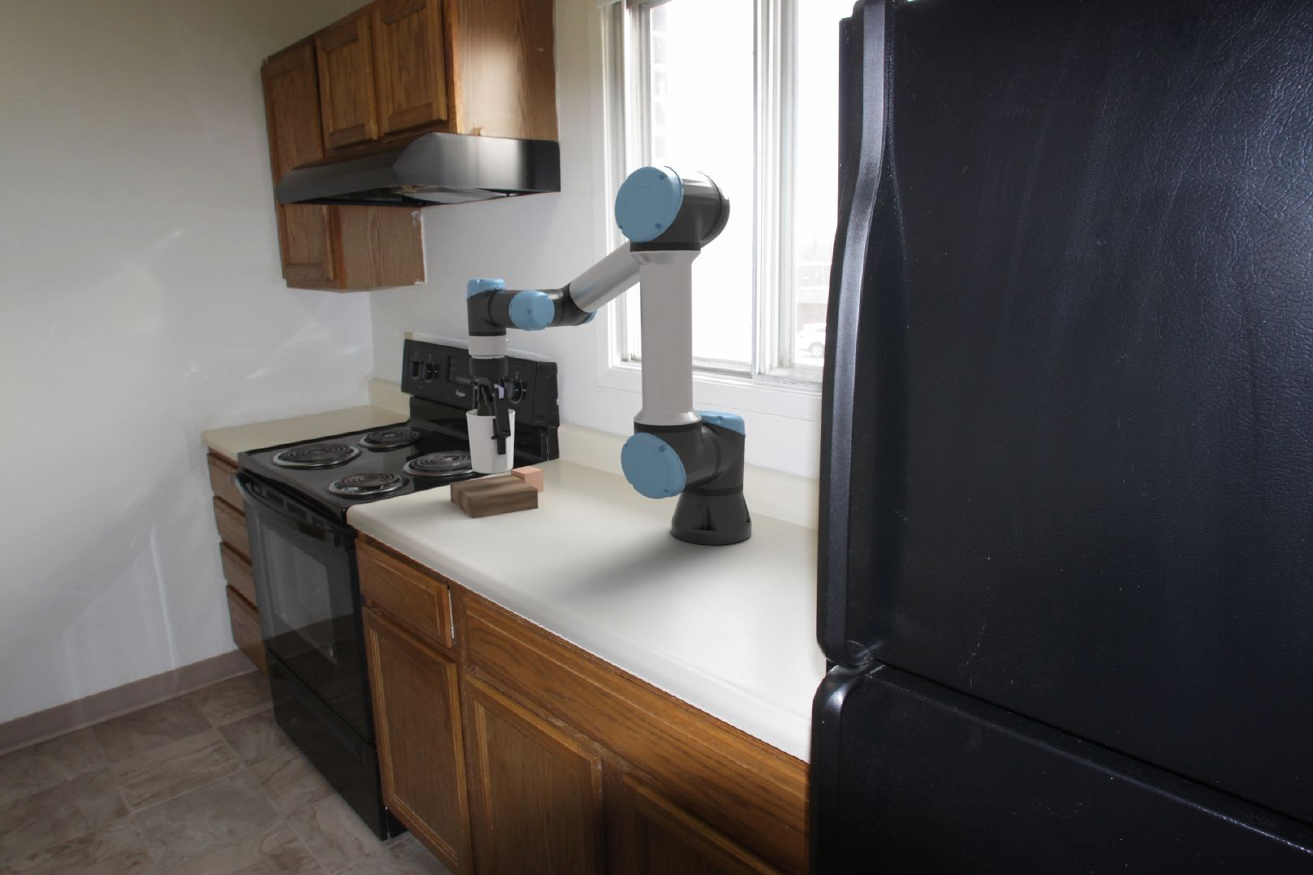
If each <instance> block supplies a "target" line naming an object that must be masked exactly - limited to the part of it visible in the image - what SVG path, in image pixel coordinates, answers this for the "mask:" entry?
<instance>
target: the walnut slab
mask: <svg viewBox="0 0 1313 875" xmlns="http://www.w3.org/2000/svg"><path fill="white" fill-rule="evenodd" d="M449 490H450V493H449V494H450V501H451V503H453V504H454V505H455V506H457V507H458V508H459V509H460V510H461V511H463V512H464V513H465V514H467V515H468V516H469V517H470V518H471V519H475V518H477V519H478V518H481V517H482V518H483V517H489V516H490V517H491V516H496V515H502V514H508V513H514V512H520V511H527V510H528V511H529V510H532V509H534V510H535V509H538V508H539V493H538V489H536V488H535V487H533V486H531V485H530V484H528V483H526V482H524V481H523V480H521V479H519V478H518V477H516V476H514V475H513V474H512V475H511V474H506V475H499V476H498V475H497V476H491V477H490V476H489V477H483V478H478V479H469V480H468V479H467V480H462V481H461V480H459V481H454V482H449Z"/></svg>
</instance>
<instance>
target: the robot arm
mask: <svg viewBox="0 0 1313 875" xmlns="http://www.w3.org/2000/svg"><path fill="white" fill-rule="evenodd" d="M730 210H731V205H730V198H729V195H728V193H727V190H726V188H725V187H724V186H723V184H722V183H721V181H719V180H718V179H716V178H715V177H714V176H712V175H710V174H708V173H705V172H701V171H692V170H687V169H681V168H676V167H671V166H667V165H659V166H658V165H651V166H650V165H648V166H642V167H640V168H637V169H636V170H634V171H633V172H631V173H630V174H629V175H628V176H627V178H626V179H625V181H624V182H623V183H621V186H619V189H618V191H617V195H616V197H615V202H614V217H615V218H614V219H615V224H616V225H617V228H618V229H620V230H621V234H622V235H623V236H625V237H626V238H627V239H628V240H627V241H626V242H624V243H623V244H621V245H620V246H619V247H617V248H616V249H614V250H613V251H612V252H610V253H609V254H608V255H606V256H604V257H603V258H602V259H601V260H599V261H598V262H596V263H595V264H593V265H592V266H591V267H589V268H588V269H587V270H586V269H585V271H584V272H582V273H580V274H579V275H578V276H576V277H575V278H574V279H573V280H572V281H570V282H569V283H567V284H566V285H564V286H563V287H560V288H546V289H542V288H541V289H507V288H506V284H505V280H504V279H502V278H470V279H469V280H468V281H467V285H466V299H465V300H466V310H467V329H468V334H467V337H468V338H467V339H468V354H469V355H470V356H471V357H470V358H469V360H468V361H469V374H470V375H471V376H472V377H475V378H478V379H472V384H471V385H472V409H471V410H474V409H477V416H495V418H496V419H494V418H493V433H494V436H492V437H491V439H492V444H493V470H494V471H497V470H504V469H507V440H506V438H508V437H510V436H511V429H510V420H509V411H508V409H509V404H508V388H507V387H506V386H503V387H502V384H501V378H502V377H505V376H507V375H508V358H507V357H506V356H505V355H507V351H508V349H507V348H508V346H507V344H509V339H508V338H507V329H514V330H522V331H523V330H524V331H526V332H531V331H534V332H535V331H542V330H545V329H546V328H554V327H555V328H557V327H570V326H571V327H579V326H581V325H585V324H589V323H590V322H592V321H593V320H594V319H595V316H596V314H597V312H598V310H599V309H601V308H602V307H603V306H605V305H606V304H608V303H609V302H611V301H613V300H614V299H616V298H617V297H619V296H620V295H622V294H623V293H625V292H626V291H628V290H629V289H631V288H633V287H634V286H636V285H637V284H639V300H640V301H639V304H640V306H639V308H640V310H639V311H640V352H641V353H640V357H641V359H640V360H641V402H642V403H641V409H640V410H639V412H637V413H636V415H635V416H633V435H631V436H629V438H628V439H626V442H625V443H624V444H622V447H621V452H620V464H621V469H622V471H623V474H624V477H625V479H626V480H627V482H628V483H629V485H632V487H633V489H634V491H636V492H637V493H638V494H640V495H641V496H643V497H645V498H648V499H653V500H661V499H662V500H663V499H666V498H673V497H678V496H679V497H678V499H677V500H678V501H677V503H676V505H675V506H676V507H675V509H674V513H673V516H672V517H671V523H670V524H671V525H670V526H671V529H670V530H671V534H672V535H673V536H674V537H676V538H678V539H679V540H682V541H685V542H688V543H692V544H699V545H718V546H719V545H730V544H735V543H739V542H743V541H745V540H747V539H748V538H750V537H751V536H752V529H753V528H752V524H753V523H752V519H751V516H750V513H749V512H750V511H749V509H748V505H747V502H746V498H745V495H744V480H745V479H744V478H745V477H744V474H745V452H746V450H745V449H746V448H745V447H746V446H745V444H746V438H747V437H746V436H747V435H746V433H745V432H746V430H745V427H746V426H745V421H744V420H745V419H744V418H743V417H742V416H741V415H739V414H735V413H732V412H731V413H729V412H723V411H713V410H700V409H699V410H698V409H697V410H696V409H694V405H693V404H694V403H693V402H694V401H693V400H694V399H693V398H694V397H693V389H694V388H693V298H692V297H693V295H692V294H693V288H692V287H693V284H692V282H693V281H692V279H693V278H692V277H693V275H692V274H693V273H692V269H693V268H692V265H693V263H694V261H695V260H696V259H697V258H698V257H699V255H700V254H701V250H702V249H703V248H704V247H705V246H707V245H708V244H710V243H711V242H713V241H714V240H715V239H717V238H718V237H719V236H720V234H722V232H723V231H724V230H725V228H726V226H727V224H728V222H729V218H730V215H731V211H730Z"/></svg>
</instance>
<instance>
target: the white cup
mask: <svg viewBox="0 0 1313 875" xmlns="http://www.w3.org/2000/svg"><path fill="white" fill-rule="evenodd" d="M508 411H509V420H510V429H511V436H510V437H508V438H506V440H507V469H504V470H497V471H494V470H493V444H492V439H491V437H492V436H494V433H493V418H494V419H496V418H495V416H477V409H474V410H472V409H471V410H468V411H466V413H465V415H466V421H467V430H468V440H469V451H470V458H471V459H470V460H471V467H472V468H471V469H472V471H473V472H476V473H479V474H502V473H506V472H510V471H511V470H512V469H514V450H515V449H514V447H515V446H514V445H515V444H514V443H515V417H516V416H515V415H516V411H515V410H514V409H510V408H508Z"/></svg>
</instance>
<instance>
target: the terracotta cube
mask: <svg viewBox="0 0 1313 875" xmlns="http://www.w3.org/2000/svg"><path fill="white" fill-rule="evenodd" d="M512 474H513V475H514V476H516V477H518V478H519V479H521V480H523V481H524V482H526V483H528V484H530V485H531V486H533V487H535V488H536V489H538V494H539V493H543V492H544V469H541V468H538V467H534V466H531V465H528V466H523V467H517V468H512V469H511V470H510V475H512Z"/></svg>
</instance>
